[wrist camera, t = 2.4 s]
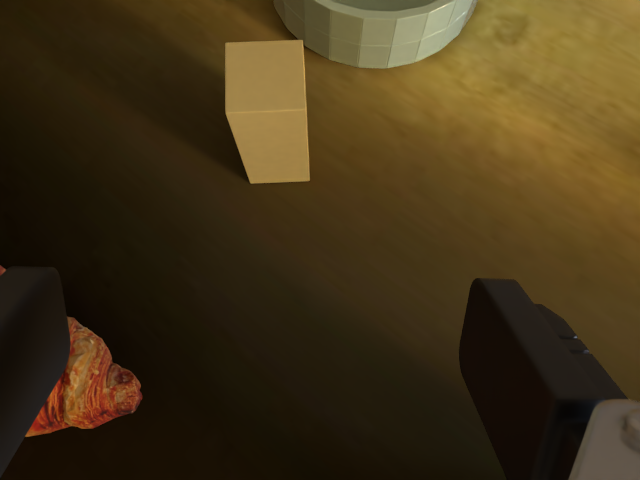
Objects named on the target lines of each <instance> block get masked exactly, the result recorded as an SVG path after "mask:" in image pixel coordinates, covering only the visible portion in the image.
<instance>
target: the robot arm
mask: <svg viewBox="0 0 640 480" xmlns="http://www.w3.org/2000/svg"><path fill="white" fill-rule="evenodd" d="M70 344H71V342H70V332H69V326H68V320H67V314H66V308H65V302H64V296H63V290H62V284H61V278H60V275H59V273H58V271H57V270H56V269H55V268H54V267H25V266H11V267H9V268H8V269H7V270H6V271H5V272H4V273H3V274H2V275H1V276H0V478H1V476H2V474H3V473H4V471H5V469H6V468H7V466H8V464H9V463H10V461H11V459H12V458H13V456H14V454H15V453H16V451H17V449H18V448H19V446H20V444H21V442H22V441H23V439H24V437H25V436H26V434H27V432H28V431H29V429H30V427H31V426H32V424H33V422H34V421H35V419H36V417H37V416H38V414H39V412H40V411H41V409H42V407H43V405H44V404H45V402H46V400H47V399H48V397H49V395H50V394H51V392H52V390H53V389H54V387H55V385H56V384H57V382H58V380H59V379H60V377H61V375H62V374H63V372H64V370H65V368H66V366H67V363H68V359H69V354H70ZM459 361H460V368H461V373H462V376H463V378H464V381H465V383H466V385H467V388H468V390H469V392H470V395H471V397H472V399H473V402H474V404H475V406H476V408H477V411H478V413H479V415H480V418H481V420H482V422H483V425H484V427H485V429H486V432H487V434H488V436H489V439H490V441H491V443H492V446H493V448H494V450H495V453H496V455H497V457H498V460H499V462H500V464H501V466H502V469H503V471H504V473H505V476H506V478H507V480H640V402H638V401H634V400H629V399H628V398H627V397H626V396H625V395H624V393H623V392H622V391H621V390H620V388H619V387H618V386H617V385H616V383H615V382H614V381H613V380H612V378H611V377H610V376H609V375H608V373H607V372H606V371H605V370H604V368H603V367H602V366H601V365H600V364H599V362H598V361H597V360H596V359H595V357H594V356H593V355H592V354H589V350H588V349H587V347H586V346H585V345H584V344H583V342H582V341H581V340H578V339H577V335H576V334H575V333H574V331H573V330H572V329H571V328H570V326H569V325H568V324H567V323H566V321H565V320H564V319H563V318H561V317H560V316H558V315H557V314H555V313H554V312H552V311H551V310H549V309H548V308H546V307H545V306H543V305H542V304H534V303H533V302H532V301H531V299H530V298H529V297H528V295H527V294H526V293H525V291H524V290H523V289H522V287H521V286H520V285H519V283H518V282H517V281H516V280H514V279H489V278H476V279H475V280H474V281H473V282H472V285H471V288H470V292H469V298H468V303H467V308H466V314H465V319H464V324H463V330H462V335H461V340H460V347H459Z"/></svg>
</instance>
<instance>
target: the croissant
mask: <svg viewBox="0 0 640 480" xmlns="http://www.w3.org/2000/svg"><path fill="white" fill-rule="evenodd" d="M5 271H6V269H5V268H3V267H2V266H1V265H0V276H1V275H2V274H3V273H4V272H5ZM67 320H68V326H69V332H70V342H71V344H70V354H69V359H68V363H67V366H66V368H65V370H64V372H63V374H62V375H61V377H60V379H59V380H58V382H57V384H56V385H55V387H54V389H53V390H52V392H51V394H50V395H49V397H48V399H47V400H46V402H45V404H44V405H43V407H42V409H41V411H40V412H39V414H38V416H37V417H36V419H35V421H34V422H33V424H32V426H31V427H30V429H29V431H28V432H27V434H26V436H25V437H29V436H35V435H40V434H45V433H51V432H54V431H56V430H59V429H63V428H67V427H70V426H76V427H79V428H81V429H88V428H95V427H97V426H99V425H101V424H103V423H105V422H107V421H110V420H112V419H114V418H116V417H119V416H123V415H126V414H129V413H133V412H134V411H135V410H136V408H137V407H138V405H139V403H140V401H141V400H142V393H141V392H140V387H141V385H140V382H139V381H138V380H137V378H136V376H135V375H134V374H133V373H132V372H131V371H129V370H127V369H124V368H121V367H120V366H119V365H118V364H115V363H112V357H111V354H110V351H109V349H108V348H107V346H106V345H105V343H104V342H103V340H102V338H100V337H98V336H97V335H95V334H94V333H93V332H92V331H90V330H89V329H88V328H87V327H86V328H85V327H83V326H82V325H81V324H80V323H79V322H78V321H77V320H76V319H75V318H73V317H68V316H67Z"/></svg>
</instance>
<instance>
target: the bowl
mask: <svg viewBox="0 0 640 480" xmlns="http://www.w3.org/2000/svg"><path fill="white" fill-rule="evenodd" d="M477 1H478V0H273V4H274V7H275V9H276V11H277V12H278V14H279V16H280V18H281V19H282V21H283V23H284V24H285V26H286V28H287V29H288V30H289V31H290V32H291V33H292V34H293V35H294V36H295V37H296V38H297V39H298V40H303V44H304V45H305V46H306V47H307V48H309V49H311V50H313V51H315V52H316V53H318V54H320V55H322V56H323V57H325V58H327V59H329V60H332V61H335V62H339V63H343V64H346V65H350V66H353V67H358V68H381V69H386V68H391V67H396V66H402V65H407V64H412V63H415V62H417V61H420V60H422V59H424V58H426V57H428V56H430V55H432V54H434V53H436V52H438V51H440V50H441V49H442V48H443V47H445V46H446V45H447V44H448V43H449V42H450V41H452V40H453V39H454V38H455V37H456V36H457V35H458V34H459V33H460V32H461V30H462V29H463V27H464V26H465V24H466V23H467V21H468V20H469V18H470V17H471V15H472V13H473V11H474V8H475V6H476V3H477Z"/></svg>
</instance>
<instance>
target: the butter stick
mask: <svg viewBox="0 0 640 480" xmlns="http://www.w3.org/2000/svg"><path fill="white" fill-rule="evenodd" d="M225 114H226V116H227V119H228V122H229V125H230V128H231V131H232V133H233V136H234V139H235V142H236V145H237V148H238V150H239V153H240V156H241V159H242V162H243V165H244V167H245V170H246V173H247V176H248V179H249V182H250V183H251V184H252V183H276V182H300V181H310V172H309V148H308V125H307V105H306V86H305V66H304V47H303V40H280V41H254V42H229V43H225Z"/></svg>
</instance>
